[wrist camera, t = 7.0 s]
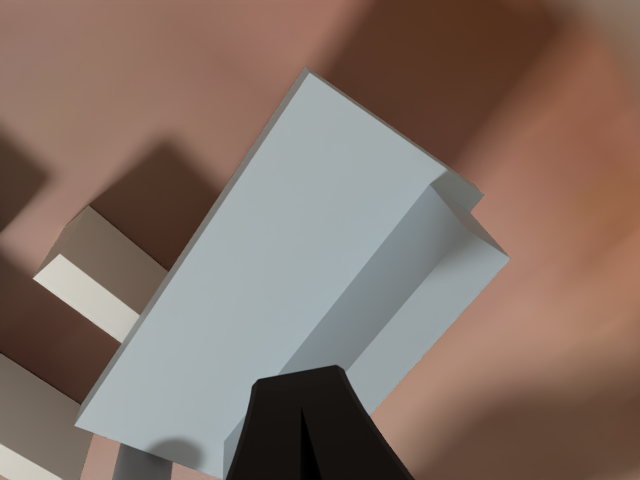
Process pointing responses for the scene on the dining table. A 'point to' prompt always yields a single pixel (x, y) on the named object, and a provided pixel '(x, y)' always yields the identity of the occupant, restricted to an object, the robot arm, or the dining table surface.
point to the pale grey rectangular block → (106, 312)
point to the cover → (298, 280)
